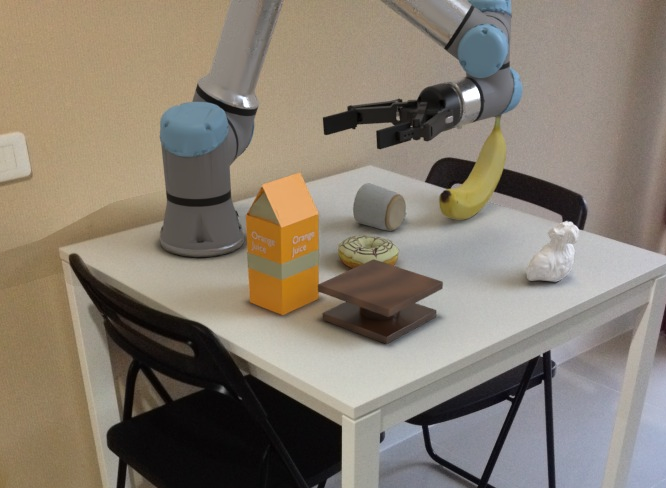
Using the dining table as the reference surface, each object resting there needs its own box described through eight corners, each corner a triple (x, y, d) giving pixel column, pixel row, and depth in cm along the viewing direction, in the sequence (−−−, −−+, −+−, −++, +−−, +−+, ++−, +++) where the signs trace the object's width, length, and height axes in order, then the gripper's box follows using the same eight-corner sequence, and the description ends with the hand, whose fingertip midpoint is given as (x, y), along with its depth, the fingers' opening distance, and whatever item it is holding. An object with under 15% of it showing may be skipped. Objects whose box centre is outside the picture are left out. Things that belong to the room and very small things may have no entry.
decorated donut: (376, 279, 169) (377, 258, 167) (326, 264, 174) (326, 244, 172) (408, 260, 176) (409, 240, 174) (359, 247, 181) (360, 227, 179)
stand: (317, 320, 155) (317, 284, 152) (372, 293, 164) (373, 259, 161) (387, 346, 148) (388, 309, 145) (440, 316, 157) (443, 281, 153)
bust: (531, 300, 168) (574, 261, 159) (505, 265, 169) (546, 224, 160) (567, 280, 176) (610, 241, 167) (542, 246, 176) (583, 206, 167)
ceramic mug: (387, 236, 185) (389, 196, 181) (351, 227, 189) (352, 187, 184) (415, 222, 193) (418, 183, 188) (380, 213, 196) (382, 174, 192)
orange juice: (248, 302, 160) (243, 179, 149) (285, 286, 166) (282, 166, 154) (283, 315, 156) (280, 190, 144) (320, 299, 162) (319, 177, 150)
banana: (454, 232, 188) (463, 124, 176) (428, 226, 191) (435, 119, 179) (507, 201, 203) (518, 100, 191) (482, 196, 206) (492, 95, 194)
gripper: (499, 141, 160) (403, 171, 150) (399, 118, 177) (306, 144, 166) (501, 92, 156) (401, 120, 146) (398, 73, 172) (302, 97, 162)
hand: (350, 133), depth 156 cm, fingers open, 13 cm apart
